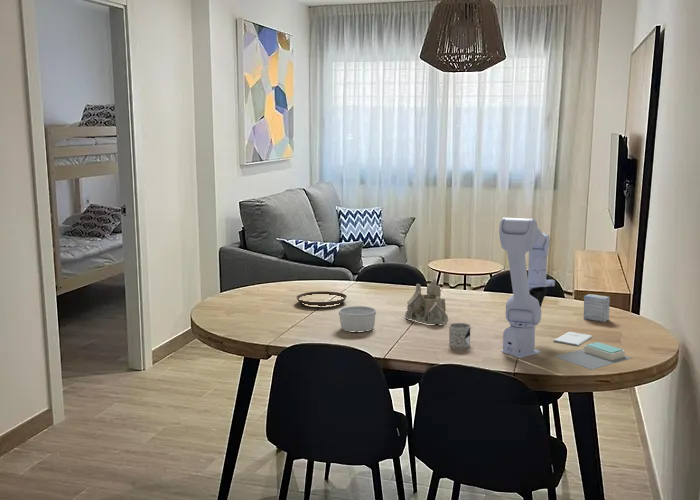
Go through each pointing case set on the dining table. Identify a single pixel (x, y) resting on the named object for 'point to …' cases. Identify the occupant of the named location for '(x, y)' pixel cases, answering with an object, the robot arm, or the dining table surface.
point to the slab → (604, 351)
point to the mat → (588, 359)
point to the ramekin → (357, 318)
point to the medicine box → (596, 307)
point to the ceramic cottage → (427, 305)
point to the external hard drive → (573, 338)
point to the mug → (459, 335)
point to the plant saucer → (322, 302)
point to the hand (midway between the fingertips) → (536, 309)
